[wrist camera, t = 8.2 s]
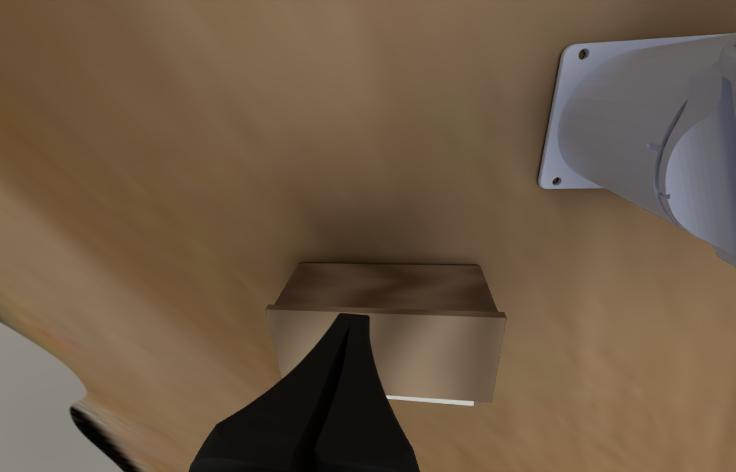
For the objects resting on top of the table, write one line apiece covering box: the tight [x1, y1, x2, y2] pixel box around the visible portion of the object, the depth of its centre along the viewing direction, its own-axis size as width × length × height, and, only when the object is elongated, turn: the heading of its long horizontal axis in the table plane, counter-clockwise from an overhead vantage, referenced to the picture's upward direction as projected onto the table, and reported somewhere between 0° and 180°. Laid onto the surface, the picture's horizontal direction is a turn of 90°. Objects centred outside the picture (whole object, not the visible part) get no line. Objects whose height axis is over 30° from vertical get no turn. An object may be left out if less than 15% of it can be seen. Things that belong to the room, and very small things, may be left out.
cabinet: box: [265, 263, 507, 403], centre depth 23 cm, size 15×7×6 cm, turn 93°
